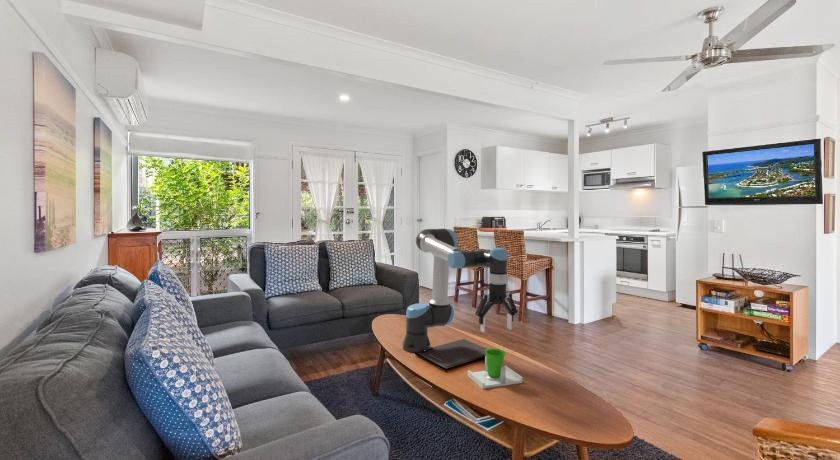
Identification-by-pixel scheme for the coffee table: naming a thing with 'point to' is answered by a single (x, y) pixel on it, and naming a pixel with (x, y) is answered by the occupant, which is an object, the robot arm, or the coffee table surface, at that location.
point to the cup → (494, 362)
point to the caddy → (488, 382)
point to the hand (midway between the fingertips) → (496, 330)
